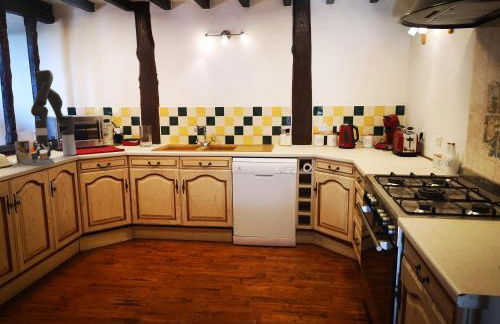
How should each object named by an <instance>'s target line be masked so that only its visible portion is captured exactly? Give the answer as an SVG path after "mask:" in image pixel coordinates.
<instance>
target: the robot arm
mask: <svg viewBox="0 0 500 324" xmlns="http://www.w3.org/2000/svg"><path fill="white" fill-rule="evenodd" d="M34 77H35V80H36V82H37V83H38V85H39V87H40V89H38V91H37V92H36V96H35V101H34V103H33V105H31V109H30V113H31V115H32V116H33V117H41V118H40V119H36V120H35V121H34V123H35V124H34V125H35V139H36V141H34V142H32V145H33V147H32V148H33V151H34V152H37V156H38V157H39V154H40V153H41V151H40V150H41V149H44V150H46V153H47V155H48V157H50V158H51V155H52V153H51V152H52V151H54V147H53V142H52V141H51V142H49V133H48V126H47V119H48V115H49V109H48V107H47V106H46V105H47V103H49V105H50V107H51V108H52V111H53V112H54V116H55V118H56V121H57V123H58V124H59V126H61V127H66V129H65V130H62V131H61V140H62V141H61V142H62V143H61V144H62V152H63V153H62V154H63V155H62V156H69V157H70V156H75V154H76V155H77V149H76V142H75V141H76V140H75V118H74V116H73V115H69V114H67V115H65V114H63V112H62V107H63V100H62V97H61V95H60V93H58V92H57V91H56V90H55V89H53V88H51V87H52V84H53V80H54V73H53V72H52V71H51V70H49V69H44V70H37V71H35V72H34Z"/></svg>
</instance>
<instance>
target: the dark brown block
mask: <svg viewBox="0 0 500 324" xmlns="http://www.w3.org/2000/svg"><path fill="white" fill-rule="evenodd" d="M38 158H40V160H47V159H50V158H51V156H50V157H48V155H47V151H45V152H40V154H39V156H38Z"/></svg>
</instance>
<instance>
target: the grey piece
mask: <svg viewBox="0 0 500 324" xmlns="http://www.w3.org/2000/svg"><path fill="white" fill-rule="evenodd" d="M55 163H56V162H55V161H54V158H53V157H52V158H51V157H50V159H47V160H40V158H39V156H37V152H36V151H34V152H31V153H28V159H26V160H25V163H22V165H23V166H48V165H52V164H55Z"/></svg>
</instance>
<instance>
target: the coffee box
mask: <svg viewBox="0 0 500 324" xmlns="http://www.w3.org/2000/svg"><path fill="white" fill-rule="evenodd" d="M30 144H31V143H30V140H16V141H14V148H15V156H16V157H15V158H16V164H23V163H25V160H26V159H28V153H32V152H31V145H30Z"/></svg>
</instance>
